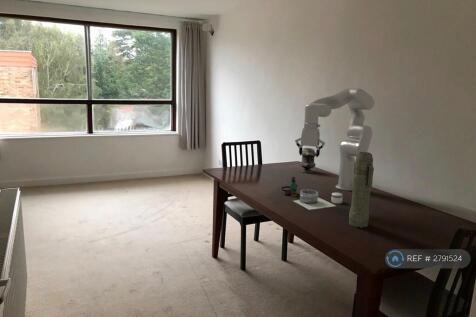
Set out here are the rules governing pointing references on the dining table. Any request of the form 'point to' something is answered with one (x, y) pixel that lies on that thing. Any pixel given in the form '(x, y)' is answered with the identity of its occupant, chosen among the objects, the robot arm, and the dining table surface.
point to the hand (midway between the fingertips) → (309, 155)
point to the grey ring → (308, 196)
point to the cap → (336, 198)
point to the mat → (319, 204)
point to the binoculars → (293, 188)
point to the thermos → (361, 190)
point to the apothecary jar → (308, 160)
